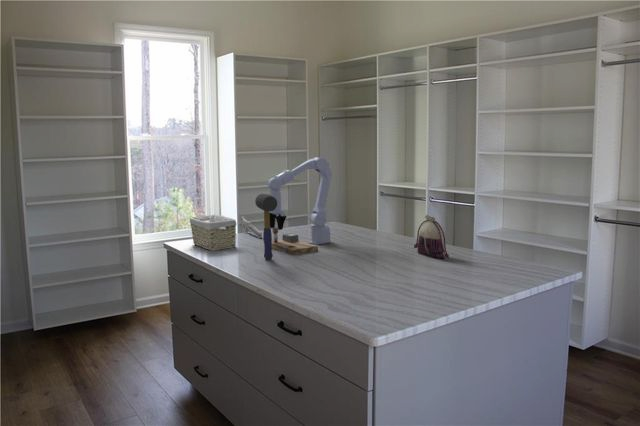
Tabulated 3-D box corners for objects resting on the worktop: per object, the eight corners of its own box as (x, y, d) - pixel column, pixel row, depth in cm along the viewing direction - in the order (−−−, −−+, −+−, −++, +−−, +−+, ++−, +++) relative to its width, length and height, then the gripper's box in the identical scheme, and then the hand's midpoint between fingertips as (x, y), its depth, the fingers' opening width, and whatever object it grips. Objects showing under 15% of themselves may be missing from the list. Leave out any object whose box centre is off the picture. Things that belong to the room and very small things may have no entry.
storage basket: (238, 247, 281) (237, 218, 279) (209, 252, 272) (207, 222, 269) (218, 240, 300) (216, 213, 298) (189, 244, 291) (188, 217, 289)
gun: (243, 228, 329) (243, 216, 326) (262, 245, 304) (262, 232, 301) (240, 228, 328) (240, 216, 326) (259, 246, 303) (259, 232, 300)
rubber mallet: (280, 261, 248) (278, 194, 243) (264, 263, 245) (262, 196, 240) (271, 256, 259) (269, 192, 255) (256, 257, 256) (253, 193, 252)
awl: (276, 241, 281) (276, 227, 280) (279, 242, 279) (279, 228, 278) (271, 242, 279) (271, 228, 278) (274, 242, 277) (274, 229, 276)
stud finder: (291, 239, 286) (290, 233, 285) (298, 241, 280) (298, 234, 280) (282, 240, 283) (282, 234, 283) (290, 242, 277) (289, 236, 277)
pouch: (405, 252, 259) (405, 212, 256) (418, 250, 264) (418, 210, 261) (444, 262, 238) (445, 218, 236) (458, 259, 243) (458, 216, 240)
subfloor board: (290, 242, 289) (290, 238, 288) (319, 250, 268) (318, 245, 267) (264, 246, 280) (264, 242, 280) (292, 255, 259) (292, 250, 259)
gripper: (261, 201, 281) (262, 227, 283) (276, 204, 269) (277, 231, 271) (273, 200, 285) (274, 226, 287) (288, 202, 273) (289, 229, 275)
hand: (276, 228), depth 279 cm, fingers open, 7 cm apart
